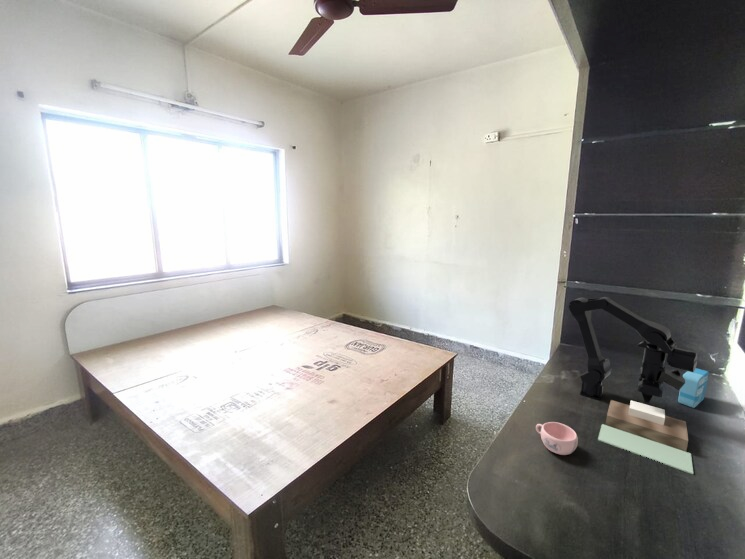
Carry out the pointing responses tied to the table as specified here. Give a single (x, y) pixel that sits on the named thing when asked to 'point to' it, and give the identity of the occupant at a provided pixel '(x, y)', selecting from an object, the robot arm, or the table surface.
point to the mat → (647, 448)
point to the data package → (693, 387)
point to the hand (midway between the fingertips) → (646, 402)
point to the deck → (648, 426)
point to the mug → (558, 437)
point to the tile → (647, 412)
